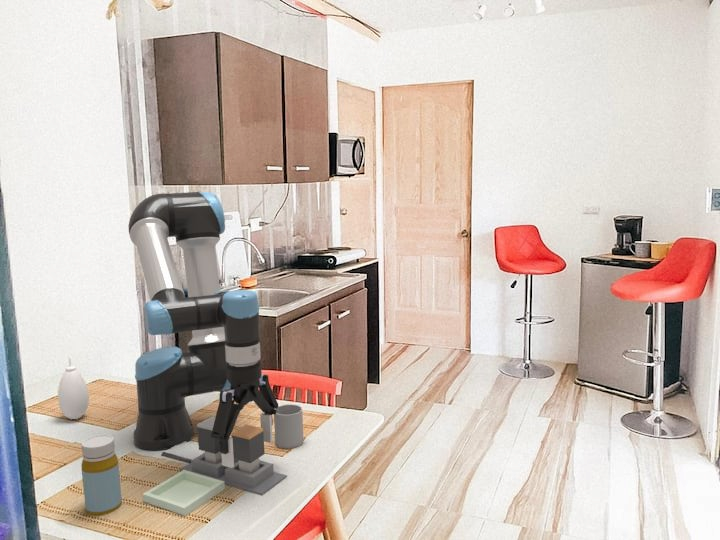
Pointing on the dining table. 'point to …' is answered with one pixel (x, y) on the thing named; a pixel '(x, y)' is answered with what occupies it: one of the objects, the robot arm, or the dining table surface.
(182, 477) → the parts tray
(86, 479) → the bottle
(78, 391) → the white air blower
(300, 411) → the cup
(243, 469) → the plug
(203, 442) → the strip
